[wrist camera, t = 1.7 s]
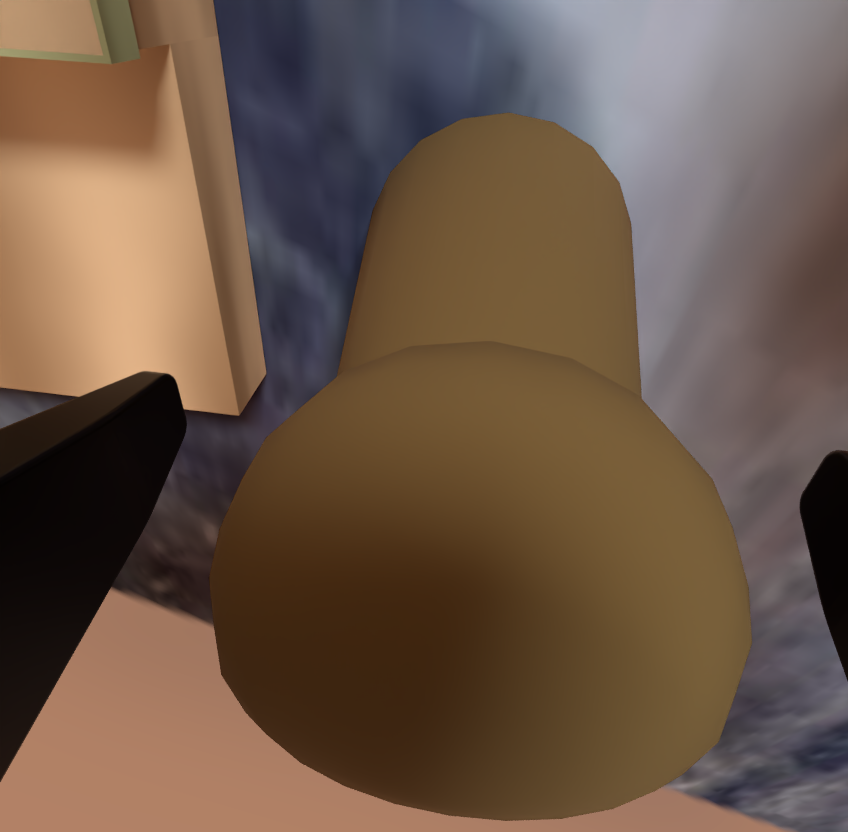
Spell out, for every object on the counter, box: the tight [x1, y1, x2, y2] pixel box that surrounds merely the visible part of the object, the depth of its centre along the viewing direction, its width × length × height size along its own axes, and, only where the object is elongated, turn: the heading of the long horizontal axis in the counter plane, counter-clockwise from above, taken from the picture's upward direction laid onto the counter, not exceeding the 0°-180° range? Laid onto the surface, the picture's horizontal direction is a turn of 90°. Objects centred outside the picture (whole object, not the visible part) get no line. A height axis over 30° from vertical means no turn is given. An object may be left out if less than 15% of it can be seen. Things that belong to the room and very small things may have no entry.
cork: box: [209, 113, 752, 821], centre depth 9 cm, size 6×6×11 cm
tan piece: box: [0, 0, 266, 416], centre depth 10 cm, size 16×16×4 cm
